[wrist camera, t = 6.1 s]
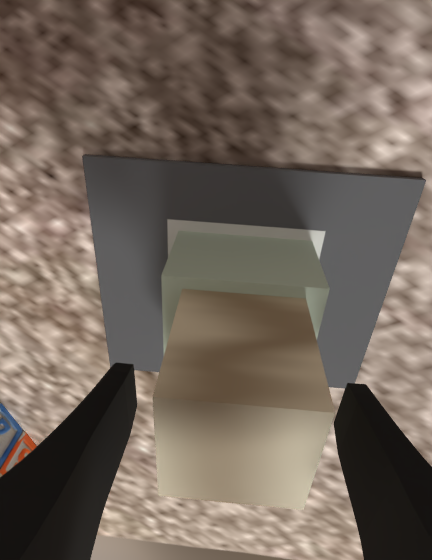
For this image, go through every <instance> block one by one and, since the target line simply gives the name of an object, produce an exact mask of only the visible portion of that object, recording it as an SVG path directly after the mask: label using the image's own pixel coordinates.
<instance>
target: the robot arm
mask: <svg viewBox="0 0 432 560" xmlns="http://www.w3.org/2000/svg"><path fill="white" fill-rule="evenodd" d="M136 408H137V398H136V386H135V375H134V364H127V363H115V364H113V365H112V366H111V368H110V369H109V370H108V372H107V373H106V374H105V375H104V376H103V378H102V379H101V380H100V381H99V382H98V384H97V385H96V386H95V387H94V388H93V390H92V391H91V392H90V393H89V394H88V395H87V396H86V397H85V399H84V400H83V401H82V402H81V403H80V404H79V405H78V406H77V407H76V408H75V410H74V411H73V412H72V413H71V414H70V415H69V416H68V417H67V418H66V419H65V420H64V421H63V422H62V423H61V424H60V425H59V426H58V427H57V428H56V429H55V430H54V431H53V432H52V433H51V434H50V435H49V436H48V437H47V438H46V439H45V440H44V441H42V442H41V443H40V444H39V445H38V446H37V447H36V448H35V449H34V450H33V451H31V452H30V453H29V454H28V455H27V456H26V457H24V458H23V459H22V460H21V461H20V462H19V463H17V464H16V465H15V466H14V467H12V468H11V469H10V470H9V471H7V472H6V473H5V474H4V475H3V476H1V477H0V560H90V558H91V554H92V550H93V546H94V543H95V539H96V535H97V531H98V528H99V524H100V520H101V516H102V513H103V510H104V507H105V504H106V501H107V498H108V495H109V492H110V489H111V487H112V484H113V481H114V478H115V476H116V473H117V470H118V467H119V464H120V462H121V459H122V456H123V453H124V450H125V448H126V445H127V442H128V439H129V436H130V433H131V429H132V425H133V421H134V417H135V412H136ZM334 428H335V436H336V443H337V449H338V455H339V459H340V463H341V467H342V471H343V474H344V478H345V482H346V486H347V489H348V493H349V497H350V500H351V504H352V508H353V512H354V515H355V519H356V523H357V527H358V531H359V535H360V540H361V545H362V550H363V556H364V560H432V467H431V466H430V465H429V463H428V462H427V461H426V460H425V459H424V458H423V457H422V455H421V454H420V453H419V452H418V451H417V449H416V448H415V447H414V446H413V445H412V443H411V442H410V441H409V440H408V438H407V437H406V436H405V435H404V433H403V432H402V431H401V430H400V429H399V427H398V426H397V425H396V423H395V422H394V421H393V420H392V418H391V417H390V416H389V414H388V413H387V412H386V410H385V409H384V408H383V406H382V405H381V404H380V402H379V401H378V400H377V398H376V397H375V396H374V394H373V393H372V392H371V390H370V389H369V388H368V387H367V385H366V384H354V383H347V385H346V388H345V391H344V394H343V397H342V400H341V403H340V406H339V409H338V412H337V415H336V418H335V421H334Z"/></svg>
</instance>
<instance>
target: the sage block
mask: <svg viewBox="0 0 432 560" xmlns="http://www.w3.org/2000/svg"><path fill="white" fill-rule="evenodd" d="M161 281H162V315H163V349H164V354H165V350H166V346H167V342H168V339H169V335H170V331H171V328H172V324H173V320H174V317H175V313H176V309H177V306H178V302H179V298H180V295H181V291H182V289H192V290H204V291H217V292H230V293H242V294H255V295H267V296H280V297H293V298H305V299H306V300H307V304H308V308H309V312H310V316H311V320H312V324H313V328H314V332H315V336H316V340H317V337H318V333H319V329H320V325H321V321H322V317H323V313H324V310H325V306H326V302H327V298H328V294H329V290H330V288H329V285H328V283H327V280H326V277H325V275H324V272H323V269H322V266H321V264H320V261H319V258H318V256H317V253H316V250H315V247H314V245H313V242H312V241H308V240H295V239H282V238H269V237H256V236H242V235H229V234H216V233H203V232H190V231H178V233H177V236H176V239H175V241H174V244H173V246H172V249H171V252H170V254H169V257H168V259H167V262H166V265H165V267H164V270H163V272H162V275H161Z"/></svg>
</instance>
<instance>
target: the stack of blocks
mask: <svg viewBox="0 0 432 560" xmlns="http://www.w3.org/2000/svg"><path fill="white" fill-rule="evenodd" d="M36 447H37V446H36V445H35V444H34V442H33V441H32V440H31V438H30V437H29V436H28V435H27V433H26V432H24V431H22V428H21V427H20V426H19V424H18V423H17V422H16V421H15V420H14V418H13V417H12V416H11V415H10V414H9V412H8V411H7V410H6V408H5V407H4V406H3V405H2V403H0V477H1V476H3V475H4V474H5V473H6V472H7V471H9V470H10V469H11V468H12V467H14V466H15V465H16V464H17V463H19V462H20V461H21V460H22V459H23V458H24V457H26V456H27V455H28V454H29V453H30V452H31V451H33V450H34V449H35V448H36Z"/></svg>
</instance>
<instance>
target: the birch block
mask: <svg viewBox="0 0 432 560" xmlns="http://www.w3.org/2000/svg"><path fill="white" fill-rule="evenodd" d="M153 411H154V428H155V446H156V463H157V480H158V496H164V497H175V498H185V499H195V500H206V501H216V502H226V503H236V504H247V505H257V506H267V507H278V508H288V509H298V510H303V509H304V506H305V503H306V500H307V497H308V494H309V491H310V488H311V485H312V482H313V479H314V476H315V473H316V470H317V466H318V463H319V460H320V457H321V454H322V451H323V448H324V445H325V442H326V439H327V436H328V433H329V430H330V427H331V424H332V421H333V418H334V415H335V410H334V406H333V403H332V399H331V395H330V391H329V387H328V383H327V379H326V375H325V371H324V367H323V363H322V359H321V355H320V351H319V348H318V344H317V340H316V336H315V332H314V328H313V324H312V320H311V316H310V312H309V308H308V304H307V300H306V299H305V298H293V297H280V296H267V295H255V294H242V293H230V292H217V291H204V290H192V289H182V291H181V295H180V298H179V302H178V306H177V309H176V313H175V317H174V320H173V324H172V328H171V331H170V335H169V339H168V342H167V346H166V350H165V354H164V357H163V361H162V365H161V368H160V372H159V376H158V379H157V383H156V387H155V390H154V394H153Z"/></svg>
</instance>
